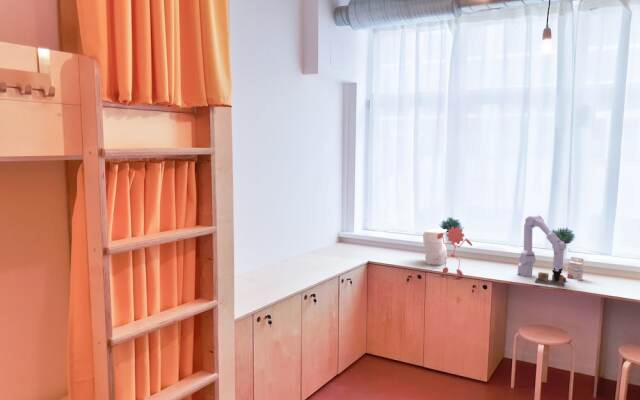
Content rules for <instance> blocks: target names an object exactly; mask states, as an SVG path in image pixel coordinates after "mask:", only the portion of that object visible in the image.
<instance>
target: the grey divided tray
mask: <svg viewBox="0 0 640 400" xmlns="http://www.w3.org/2000/svg"><path fill="white" fill-rule="evenodd" d="M534 283H535V284H541V285H549V286H556V287H565V286H566V282H562V284H559V283H552V279H548V282H544V281H538V277H536V278H535V280H534Z"/></svg>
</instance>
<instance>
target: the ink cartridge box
mask: <svg viewBox="0 0 640 400" xmlns="http://www.w3.org/2000/svg"><path fill="white" fill-rule="evenodd" d="M583 272H584V258H580V257H575V256H571V257H570V261H568V266H567V277H566V279H570V280H577V281H582V280H583Z"/></svg>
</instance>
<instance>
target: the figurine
mask: <svg viewBox="0 0 640 400" xmlns="http://www.w3.org/2000/svg"><path fill="white" fill-rule="evenodd" d="M447 231H448V233H446V235H445V236H446V238H447V239H448V242H447V243H446V242H445V240H444V239H445V238H444V235H443V233H440V234H438V236H437V238H438V239H440V238H442V241H443V243H444V244H445V245H452V246H453V247H454V249H453V252H452V253H450V256H447V257H446V258H447V259H449V258H450V257H451V258H456V259H457V260H458V261H459V262H458V266H461V265H460V264H461V263H460V262H461V259H459V258H458V257H456V256H455V254H454V253H455V251H456V248H457V247H458V248H460V247H461V246H462V245H463V244H464V243H465V242H466V243H467V244H469V246H471V247H473V244H472V242H471V241H470V240H469V239H468V238H465V239H464V237H465V234H464V232H463V228H462V229H461V228H460V227H459V226H457V227H456V226H455V227H454V226H451V228H450V229H447ZM449 242H450V243H449ZM456 244H457V245H456ZM446 258H445V259H446ZM447 259H446V260H447ZM446 264H447V263H446ZM446 264H444V268H442V273H443V277H445V275H446V274H447V273H452V274H453V272H450V271H449V268H448V267H447V265H446ZM463 275H464V274H463V272H462V270H461V269H460V268H457V269H456V278H455V279H458V276H460V277H463ZM464 280H466V278H465V279H464Z"/></svg>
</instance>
